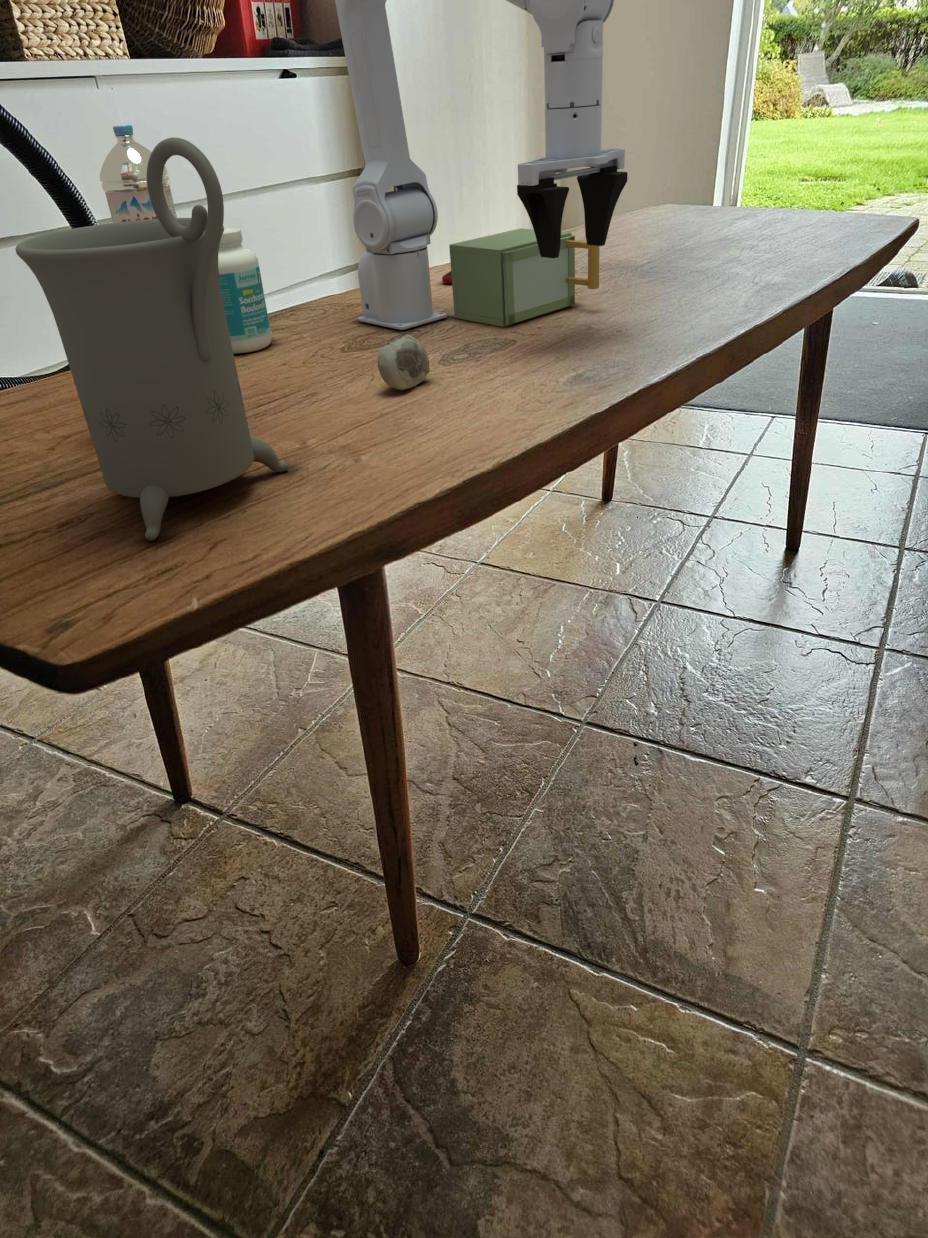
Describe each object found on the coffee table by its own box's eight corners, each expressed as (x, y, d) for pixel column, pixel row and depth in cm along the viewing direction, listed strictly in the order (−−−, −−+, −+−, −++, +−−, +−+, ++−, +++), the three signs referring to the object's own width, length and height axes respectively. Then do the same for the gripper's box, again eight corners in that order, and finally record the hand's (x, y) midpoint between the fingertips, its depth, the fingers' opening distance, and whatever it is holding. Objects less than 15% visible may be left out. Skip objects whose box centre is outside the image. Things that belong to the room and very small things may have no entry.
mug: (44, 512, 69) (-84, 156, 55) (185, 448, 79) (106, 134, 66) (209, 561, 59) (103, 148, 46) (345, 481, 70) (291, 124, 56)
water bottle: (223, 363, 103) (170, 120, 89) (190, 381, 97) (128, 125, 84) (174, 362, 105) (116, 124, 92) (139, 379, 99) (72, 130, 86)
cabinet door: (537, 330, 104) (535, 255, 100) (505, 324, 108) (502, 252, 103) (604, 308, 111) (605, 237, 107) (572, 303, 115) (572, 235, 110)
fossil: (402, 398, 87) (396, 347, 84) (374, 395, 88) (367, 345, 86) (434, 379, 92) (429, 330, 89) (406, 376, 93) (401, 329, 90)
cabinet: (503, 326, 108) (499, 249, 103) (454, 317, 114) (449, 244, 109) (571, 305, 115) (571, 232, 111) (522, 297, 121) (520, 228, 116)
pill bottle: (259, 355, 105) (235, 234, 97) (203, 356, 106) (175, 237, 99) (282, 339, 111) (261, 224, 104) (228, 339, 112) (205, 226, 105)
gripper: (553, 111, 81) (555, 266, 88) (649, 99, 89) (644, 242, 96) (500, 113, 85) (506, 260, 93) (596, 101, 93) (594, 237, 101)
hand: (573, 250), depth 95 cm, fingers open, 7 cm apart
